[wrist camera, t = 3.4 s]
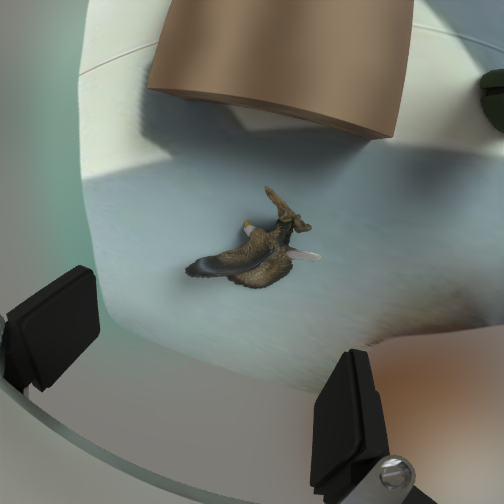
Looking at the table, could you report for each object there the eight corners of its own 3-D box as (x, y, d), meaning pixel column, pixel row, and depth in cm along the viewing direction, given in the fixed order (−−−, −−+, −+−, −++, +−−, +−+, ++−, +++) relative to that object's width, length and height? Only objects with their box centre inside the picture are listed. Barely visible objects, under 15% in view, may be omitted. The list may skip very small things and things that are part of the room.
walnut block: (397, -11, 14) (414, -43, 8) (371, 139, 20) (392, 137, 14) (225, -41, 15) (205, -73, 10) (182, 98, 21) (146, 87, 16)
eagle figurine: (247, 166, 22) (175, 250, 23) (289, 204, 16) (190, 310, 18) (302, 217, 26) (237, 284, 28) (346, 260, 21) (265, 339, 23)
